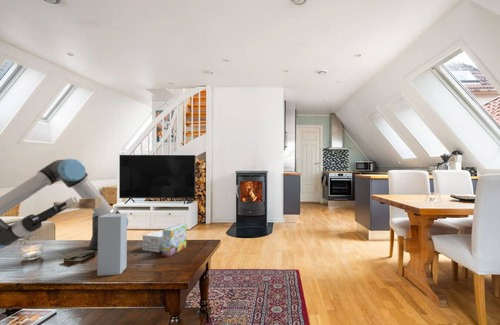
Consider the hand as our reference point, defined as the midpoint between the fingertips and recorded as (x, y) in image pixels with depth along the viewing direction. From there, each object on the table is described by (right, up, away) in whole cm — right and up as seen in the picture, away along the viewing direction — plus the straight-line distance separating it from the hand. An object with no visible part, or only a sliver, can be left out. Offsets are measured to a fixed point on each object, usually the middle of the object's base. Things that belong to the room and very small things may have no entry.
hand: (75, 199), depth 130 cm
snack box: (+39, -37, +34) cm, 63 cm away
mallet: (+1, -4, 0) cm, 4 cm away
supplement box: (+27, -37, +42) cm, 62 cm away
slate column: (+17, -35, +1) cm, 39 cm away
